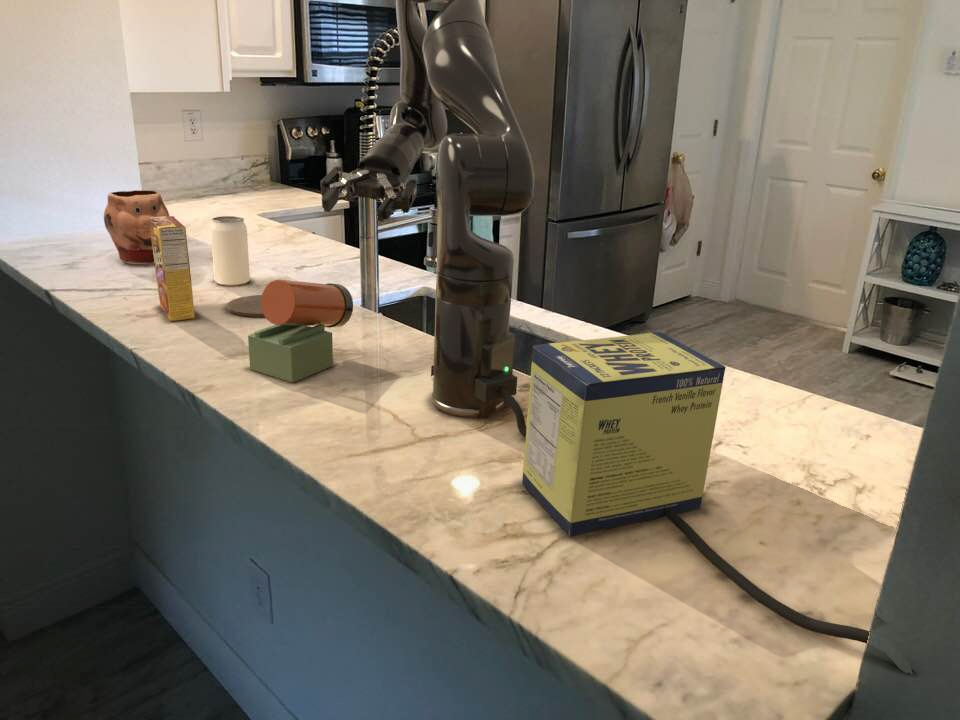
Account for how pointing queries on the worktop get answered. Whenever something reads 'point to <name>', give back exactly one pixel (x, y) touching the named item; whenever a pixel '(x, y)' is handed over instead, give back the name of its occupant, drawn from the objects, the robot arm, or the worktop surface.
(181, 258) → the candy box
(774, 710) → the worktop surface
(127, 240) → the decorative planter
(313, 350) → the stand
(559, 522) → the protein box
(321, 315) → the jar
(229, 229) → the can
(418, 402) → the worktop surface
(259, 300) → the coaster
